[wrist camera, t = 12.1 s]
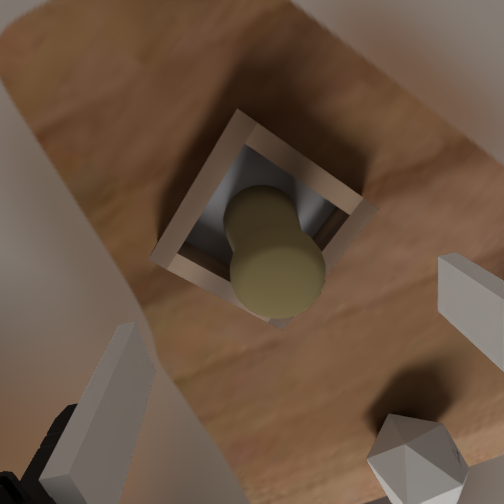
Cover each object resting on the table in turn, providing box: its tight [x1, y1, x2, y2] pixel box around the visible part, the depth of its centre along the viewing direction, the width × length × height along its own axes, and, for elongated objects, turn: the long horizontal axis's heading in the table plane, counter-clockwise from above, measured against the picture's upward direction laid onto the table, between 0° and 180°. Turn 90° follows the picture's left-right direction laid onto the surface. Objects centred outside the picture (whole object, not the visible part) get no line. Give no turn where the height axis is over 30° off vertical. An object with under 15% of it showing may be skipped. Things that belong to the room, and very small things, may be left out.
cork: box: [223, 185, 326, 319], centre depth 22 cm, size 6×6×11 cm
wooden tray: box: [148, 109, 379, 330], centre depth 26 cm, size 12×12×4 cm
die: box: [366, 414, 469, 504], centre depth 34 cm, size 8×9×10 cm
